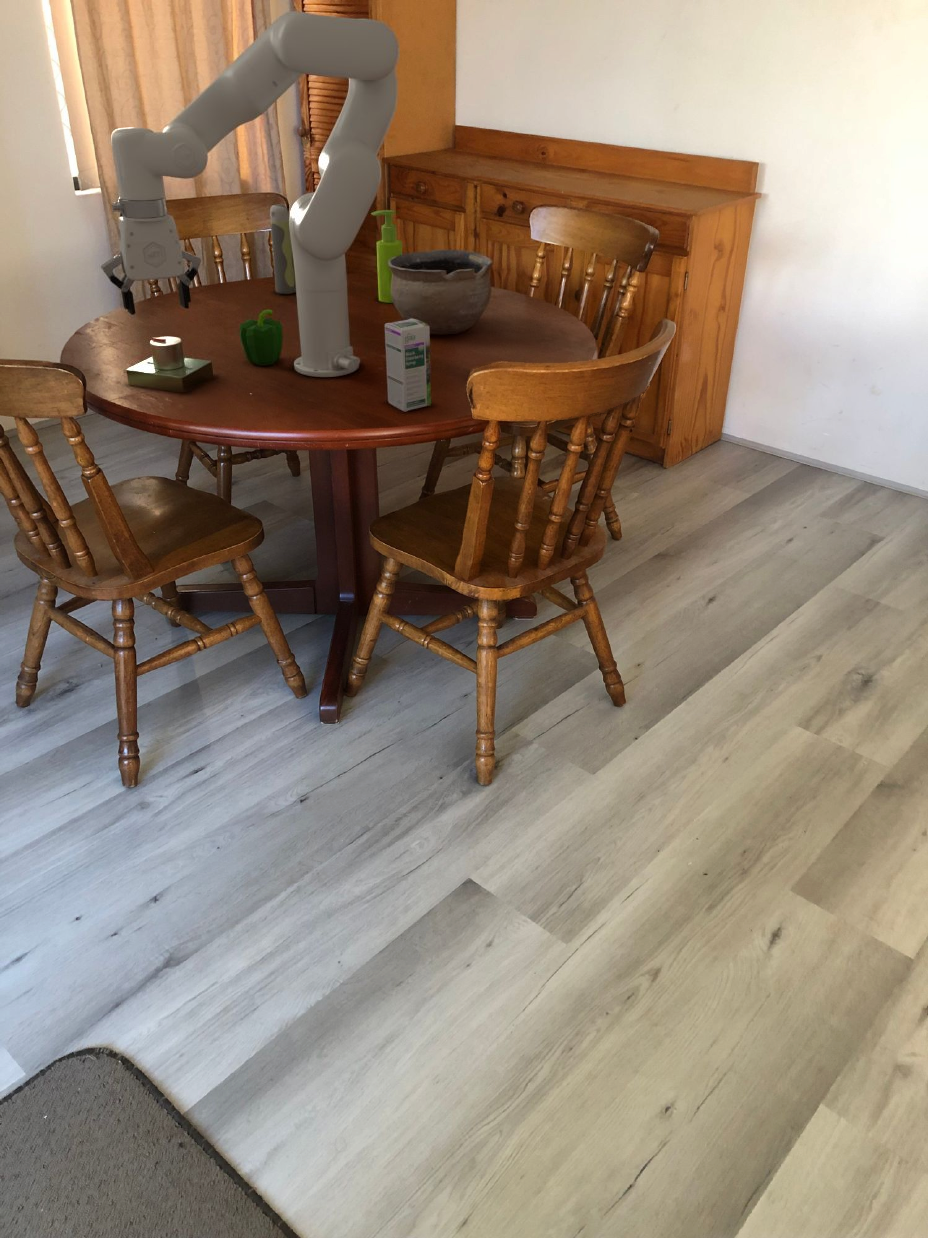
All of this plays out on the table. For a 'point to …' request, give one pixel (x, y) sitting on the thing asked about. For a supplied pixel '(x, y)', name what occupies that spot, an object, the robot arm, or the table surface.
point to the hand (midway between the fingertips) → (158, 309)
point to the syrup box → (408, 364)
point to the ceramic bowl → (441, 288)
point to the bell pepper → (262, 339)
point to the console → (170, 375)
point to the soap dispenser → (386, 255)
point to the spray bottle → (282, 250)
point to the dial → (167, 353)
